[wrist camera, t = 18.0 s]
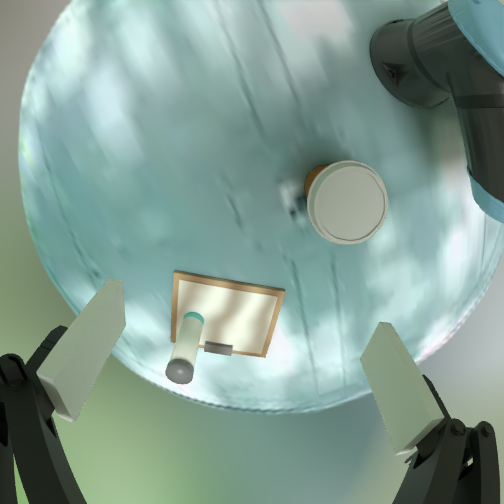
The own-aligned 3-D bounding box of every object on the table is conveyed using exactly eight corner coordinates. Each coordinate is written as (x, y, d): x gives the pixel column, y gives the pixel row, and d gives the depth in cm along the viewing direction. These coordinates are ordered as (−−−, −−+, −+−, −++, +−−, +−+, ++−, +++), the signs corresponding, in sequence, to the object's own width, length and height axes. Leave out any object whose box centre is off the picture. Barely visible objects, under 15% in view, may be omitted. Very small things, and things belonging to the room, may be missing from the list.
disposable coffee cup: (358, 213, 40) (392, 241, 29) (297, 222, 41) (314, 255, 30) (352, 150, 37) (389, 157, 26) (288, 158, 37) (303, 167, 26)
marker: (205, 313, 46) (192, 369, 34) (203, 330, 48) (191, 386, 36) (183, 309, 46) (165, 364, 34) (182, 326, 47) (165, 381, 35)
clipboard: (284, 289, 45) (285, 295, 44) (265, 354, 51) (265, 361, 49) (175, 270, 44) (172, 275, 42) (171, 339, 50) (169, 345, 48)
